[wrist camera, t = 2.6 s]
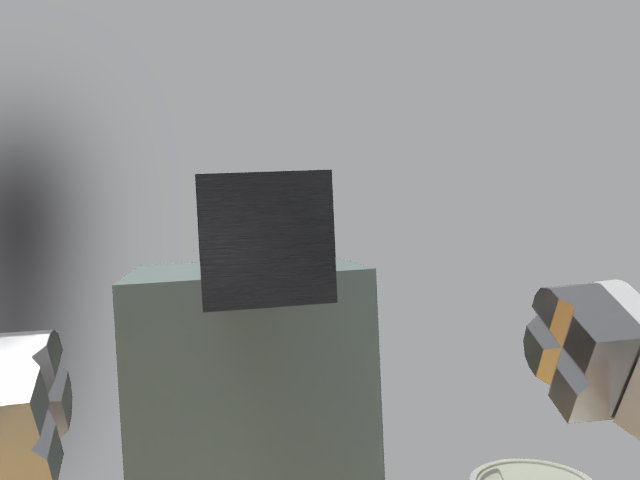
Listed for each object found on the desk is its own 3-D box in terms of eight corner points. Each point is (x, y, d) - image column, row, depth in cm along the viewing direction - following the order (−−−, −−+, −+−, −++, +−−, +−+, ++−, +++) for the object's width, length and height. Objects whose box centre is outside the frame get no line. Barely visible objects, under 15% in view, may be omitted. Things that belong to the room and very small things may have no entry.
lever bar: (337, 302, 18) (331, 169, 18) (202, 312, 18) (195, 174, 17) (264, 256, 42) (261, 198, 42) (205, 259, 41) (202, 200, 41)
